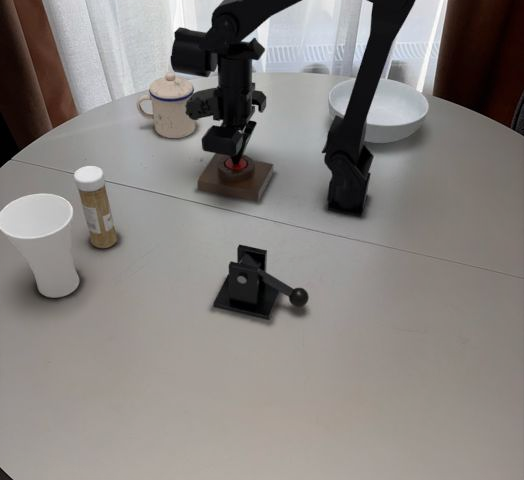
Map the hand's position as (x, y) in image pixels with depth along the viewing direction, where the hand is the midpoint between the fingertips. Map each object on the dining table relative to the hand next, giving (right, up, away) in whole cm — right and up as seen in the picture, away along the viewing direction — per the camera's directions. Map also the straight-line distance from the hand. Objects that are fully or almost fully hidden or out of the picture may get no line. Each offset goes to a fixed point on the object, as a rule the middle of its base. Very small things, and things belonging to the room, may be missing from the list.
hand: (236, 163), depth 109 cm
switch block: (0, -3, +3) cm, 4 cm away
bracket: (+3, -27, -17) cm, 33 cm away
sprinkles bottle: (-22, -17, -9) cm, 29 cm away
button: (0, -1, +1) cm, 2 cm away
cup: (-28, -25, -16) cm, 40 cm away
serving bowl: (+29, +12, +17) cm, 36 cm away
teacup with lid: (-15, +12, +15) cm, 25 cm away
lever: (+6, -26, -21) cm, 34 cm away
